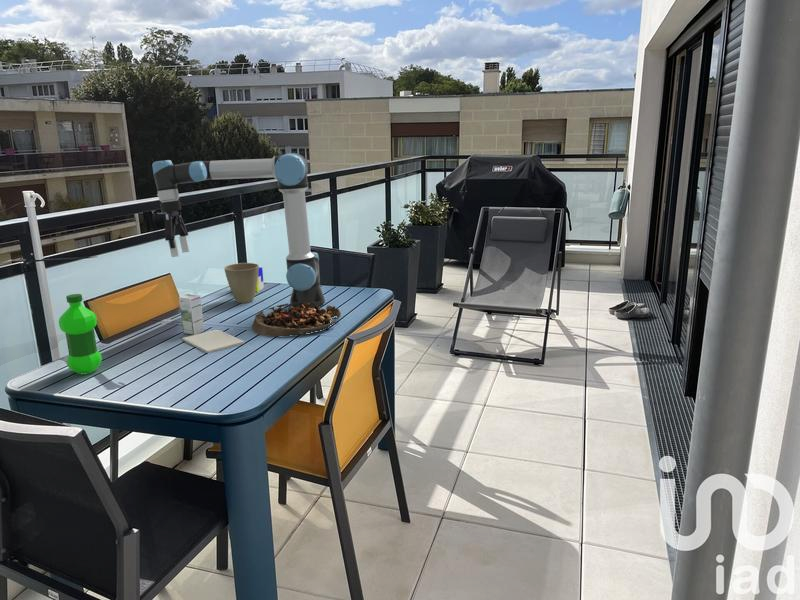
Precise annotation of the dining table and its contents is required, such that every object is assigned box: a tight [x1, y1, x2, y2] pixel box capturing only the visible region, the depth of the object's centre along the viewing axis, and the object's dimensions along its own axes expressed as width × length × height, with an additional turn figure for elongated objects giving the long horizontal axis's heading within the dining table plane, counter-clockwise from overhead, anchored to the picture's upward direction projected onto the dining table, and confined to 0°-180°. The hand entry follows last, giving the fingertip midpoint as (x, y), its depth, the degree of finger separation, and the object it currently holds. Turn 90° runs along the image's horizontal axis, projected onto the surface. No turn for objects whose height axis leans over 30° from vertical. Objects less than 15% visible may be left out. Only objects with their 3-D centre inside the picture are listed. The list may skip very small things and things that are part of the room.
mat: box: [181, 329, 245, 354], centre depth 220 cm, size 20×14×1 cm
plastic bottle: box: [58, 293, 103, 375], centre depth 191 cm, size 10×10×25 cm
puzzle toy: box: [255, 266, 265, 293], centre depth 293 cm, size 10×10×10 cm
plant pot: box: [223, 262, 260, 304], centre depth 272 cm, size 15×15×16 cm
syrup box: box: [178, 293, 205, 336], centre depth 229 cm, size 6×6×14 cm
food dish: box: [251, 302, 342, 337], centre depth 239 cm, size 35×33×8 cm
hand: (180, 254), depth 243 cm, fingers open, 13 cm apart
